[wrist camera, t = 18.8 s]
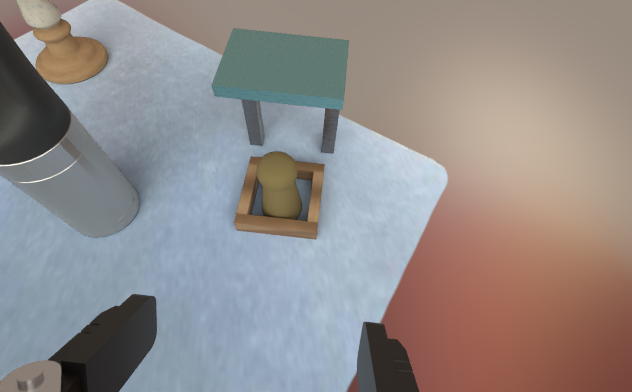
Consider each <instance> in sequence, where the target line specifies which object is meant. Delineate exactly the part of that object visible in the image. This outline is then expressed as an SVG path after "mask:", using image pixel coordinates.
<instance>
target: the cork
mask: <svg viewBox="0 0 632 392" xmlns="http://www.w3.org/2000/svg"><path fill="white" fill-rule="evenodd" d="M297 171H298V170H297V165H296V163H295V161H294V159H293V158H292V157H291V156H289V155H288V154H286V153H283V152H271V153H268V154H266V155H264V156H263V157H262V158H261V159H260V161H259V162H258V164H257V170H256V174H257V177H258V180H259V182H260V183H261V184H262V211H263V215H264V216H266V217H275V218H283V219H292V220H296V219H297V218H298V217H299V215H300V213H301V211H302V203H301V199H300V196H299V193H298V189H297V186H296V183H295V180H296V178H297Z"/></svg>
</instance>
